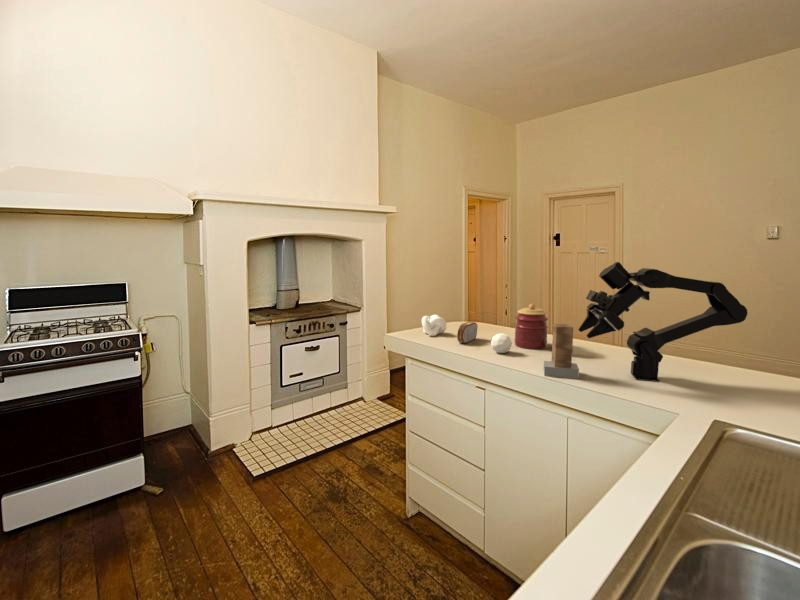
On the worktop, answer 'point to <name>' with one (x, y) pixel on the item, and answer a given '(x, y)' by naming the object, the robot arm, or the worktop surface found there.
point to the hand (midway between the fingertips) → (583, 333)
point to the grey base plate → (561, 370)
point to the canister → (531, 328)
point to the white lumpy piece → (433, 325)
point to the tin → (467, 332)
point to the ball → (501, 343)
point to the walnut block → (562, 345)
